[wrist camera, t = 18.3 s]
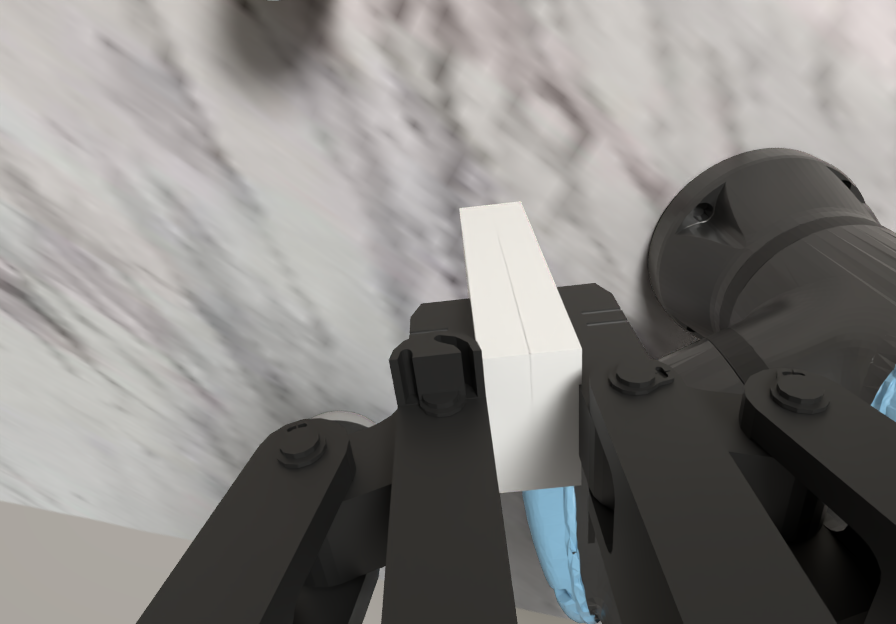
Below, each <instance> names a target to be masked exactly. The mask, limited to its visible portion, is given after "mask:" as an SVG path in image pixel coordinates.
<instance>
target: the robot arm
mask: <svg viewBox="0 0 896 624" xmlns="http://www.w3.org/2000/svg"><path fill="white" fill-rule="evenodd" d="M459 210H460V219H461V229H462V239H463V248H464V258H465V267H466V277H467V287H468V296H469V299H460V300H451V301H442V302H432V303H423V304H421V305H420V306H419V307H418V309H417V310H416V311H415V313H414V314H413V315H412V316H411V319H410V336H409V339H408V340H405V341H403V342H402V343H401V344H400V345H399V346H398V347H396V348H395V349H394V350H393V352H392V354H391V357H390V359H389V363H390V368H391V374H392V379H393V384H394V389H395V394H396V400H397V405H398V409H397V410H396V411H395V412H394V413H393V414H392V415H391V416H390V417H388V418H387V419H385V420H383V421H382V422H380V423H378V424H376V425H373V426H371V427H369V428H366V429H363V430H360V431H357V432H354V433H351V434H348V435H347V432H346V429H345V428H344V427H342V426H341V425H340V424H338V423H337V422H336V421H332V420H328V419H323V418H313V419H303V420H300V421H297V422H293V423H290V424H287V425H285V426H283V427H282V428H280V429H278V430H277V431H275V432H273V433H272V434H270V435H269V436H268V437H267V438H266V439H265V441H264V442H263V443H262V444H261V445H260V446H259V447H258V448H257V450H256V451H255V453H254V454H253V456H252V457H251V459H250V460H249V461H248V463H247V464H246V466H245V467H244V469H243V470H242V471H241V473H240V474H239V476H238V477H237V479H236V480H235V482H234V483H233V484H232V486H231V487H230V489H229V490H228V492H227V493H226V495H225V496H224V497H223V499H222V500H221V502H220V503H219V505H218V506H217V507H216V509H215V510H214V512H213V513H212V515H211V516H210V518H209V519H208V520H207V522H206V523H205V525H204V526H203V528H202V529H201V531H200V532H199V533H198V535H197V536H196V538H195V539H194V541H193V542H192V544H191V545H190V546H189V548H188V549H187V551H186V552H185V554H184V555H183V556H182V558H181V560H180V561H179V562H178V564H177V565H176V567H175V568H174V569H173V571H172V572H171V574H170V575H169V577H168V578H167V580H166V581H165V582H164V584H163V585H162V587H161V588H160V590H159V591H158V593H157V594H156V595H155V597H154V598H153V600H152V601H151V603H150V604H149V606H148V607H147V608H146V610H145V611H144V613H143V614H142V615H141V617H140V618H139V620H138V621H137V623H136V624H362V622H363V620H364V617H365V614H366V611H367V608H368V605H369V603H370V600H371V597H372V594H373V591H374V588H375V586H376V583H377V580H378V577H379V570H380V568H382V567H384V566H386V568H385V581H384V595H383V608H382V621H381V624H517V616H516V609H515V602H514V595H513V587H512V580H511V573H510V566H509V558H508V551H507V544H506V537H505V530H504V522H503V515H502V508H501V501H500V493H507V492H517V491H522V495H523V501H524V506H525V511H526V516H527V520H528V524H529V528H530V532H531V536H532V539H533V543H534V546H535V549H536V552H537V555H538V559H539V562H540V564H541V567H542V570H543V572H544V575H545V577H546V580H547V582H548V583H549V585H550V587H552V588H554V591H555V595H556V598H557V602H558V603H559V605H560V607H561V608H562V610H563V611H564V613H565V614H566V615H567V616H568V617H569V618H570V619H572V620H574V621H575V622H578V623H587V624H595V623H598V622H599V621H601V622H602V624H896V233H894V232H893V231H891V230H889V229H887V228H885V227H884V226H882V225H881V224H880V223H879V221H878V219H877V218H876V216H875V215H874V213H873V212H872V210H871V209H870V208H869V206H868V205H866V203H865V201H864V198H863V197H862V195H861V193H860V191H859V190H858V188H857V187H856V185H855V184H854V183H853V182H852V181H851V179H850V178H848V177H847V176H846V175H845V174H844V173H843V172H842V171H840V170H839V169H838V168H836V167H834V166H833V165H831V164H829V163H827V162H825V161H823V160H821V159H819V158H816V157H814V156H812V155H810V154H807V153H805V152H801V151H798V150H793V149H785V148H766V149H758V150H753V151H749V152H745V153H742V154H739V155H736V156H733V157H731V158H728V159H726V160H724V161H722V162H720V163H718V164H716V165H714V166H712V167H711V168H709V169H708V170H706V171H704V172H703V173H702V174H700V175H699V176H698V177H696V178H695V179H694V180H693V181H691V182H690V183H689V184H688V185H687V186H686V187H685V188H684V189H683V190H682V191H681V192H680V193H679V194H678V195H677V196H676V197H675V199H674V200H673V201H672V202H671V204H670V205H669V206H668V208H667V209H666V211H665V212H664V214H663V216H662V217H661V219H660V221H659V223H658V225H657V227H656V230H655V232H654V235H653V238H652V241H651V245H650V250H649V257H648V271H649V278H650V282H651V286H652V289H653V291H654V293H655V295H656V297H657V299H658V300H659V302H660V303H661V305H662V306H663V307H664V309H665V310H666V312H667V313H668V314H669V316H670V317H671V318H672V319H673V320H674V321H675V322H676V323H677V324H678V325H679V326H680V327H681V328H683V329H684V330H685V331H687V332H688V333H690V334H692V335H694V336H696V337H698V338H700V339H701V340H698V341H696V342H694V343H692V344H690V345H688V346H686V347H684V348H682V349H680V350H678V351H676V352H674V353H672V354H669V355H667V356H665V357H663V358H661V359H659V360H655V359H651V358H650V357H649V356H648V354H647V352H646V351H645V349H644V347H643V346H642V344H641V342H640V340H639V339H638V337H637V335H636V334H635V332H634V330H633V328H632V327H631V325H630V323H629V322H627V318H626V317H625V315H624V313H623V311H622V310H620V306H619V305H618V303H617V301H616V300H615V298H614V296H613V294H612V293H610V292H608V291H607V290H605V289H604V288H602V287H600V286H599V285H597V284H596V283H591V284H582V285H572V286H563V287H556V285H555V283H554V280H553V278H552V275H551V273H550V270H549V268H548V266H547V263H546V261H545V258H544V256H543V254H542V251H541V249H540V246H539V244H538V242H537V239H536V237H535V234H534V232H533V230H532V227H531V225H530V222H529V220H528V218H527V215H526V213H525V210H524V208H523V206H522V203H521V201H520V202H511V203H502V204H493V205H485V206H476V207H467V208H459Z"/></svg>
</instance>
